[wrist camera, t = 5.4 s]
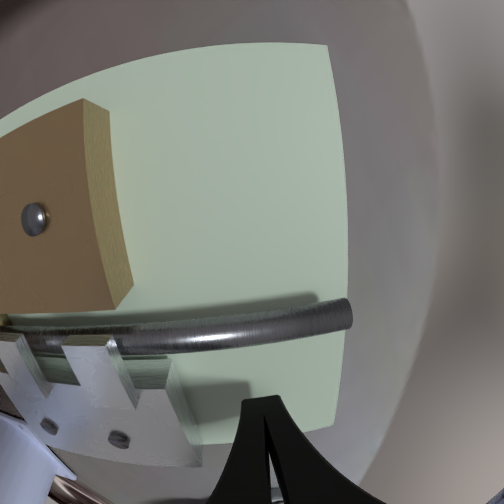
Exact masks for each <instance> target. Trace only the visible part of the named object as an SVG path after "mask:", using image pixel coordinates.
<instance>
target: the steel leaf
mask: <svg viewBox="0 0 504 504" xmlns="http://www.w3.org/2000/svg"><path fill="white" fill-rule="evenodd" d="M61 347H62V349H63V351H64V353H65V356H66V358H67V359H66V358H52V357H41V356H33V354H32V351H31V349H30V347H29V345H28V343H27V341H26V339H25V336H24V334H22V333H6V332H0V359H1V361H0V384H1V386H2V387H3V389H4V391H5V392H6V394H7V395H8V397H9V398H10V400H11V401H12V403H13V404H14V406H15V407H16V408H17V410H18V411H19V413H20V414H21V415H22V417H23V418H24V419H25V421H26V422H27V423H28V425H29V426H30V427H31V428H32V430H33V431H34V432H35V433H36V435H37V436H38V437H39V438H40V439H41V441H42V442H43V443H44V444H45V445H49V446H52V447H55V448H58V449H62V450H65V451H69V452H73V453H77V454H81V455H85V456H90V457H95V458H100V459H105V460H111V461H117V462H124V463H131V464H140V465H150V466H164V467H202V457H203V439H202V437H201V435H200V432H199V430H198V428H197V425H196V423H195V420H194V418H193V415H192V413H191V410H190V408H189V405H188V403H187V400H186V397H185V395H184V392H183V389H182V386H181V383H180V381H179V378H178V375H177V372H176V369H175V366H174V363H173V360H172V359H157V360H122V357H121V355H120V352H119V350H118V347H117V345H116V342H115V340H114V337H113V334H109V335H69V336H68V337H67V339H66V340H65V341H64V342H63V343H62V345H61Z"/></svg>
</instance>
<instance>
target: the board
mask: <svg viewBox="0 0 504 504" xmlns="http://www.w3.org/2000/svg"><path fill="white" fill-rule="evenodd" d="M82 98H84V99H86V100H88V101H90V102H92V103H94V104H96V105H98V106H100V107H102V108H104V109H106V110H108V111H110V132H111V146H112V158H113V168H114V177H115V185H116V193H117V200H118V206H119V213H120V219H121V224H122V230H123V235H124V240H125V245H126V250H127V255H128V259H129V264H130V268H131V273H132V277H133V281H134V286H133V287H132V288H131V290H130V291H129V292H128V294H127V295H126V296H125V298H124V299H123V300H122V302H121V303H120V304H119V306H118V307H117V308H116V310H107V311H90V312H69V313H39V314H4V315H6V316H7V317H8V318H9V319H10V321H11V322H12V324H13V325H14V326H95V325H119V324H137V323H152V322H165V321H177V320H188V319H199V318H208V317H217V316H226V315H234V314H242V313H250V312H258V311H265V310H272V309H279V308H285V307H292V306H298V305H304V304H310V303H316V302H322V301H327V300H333V299H338V298H344V297H345V298H346V299H347V281H348V223H347V198H346V181H345V167H344V155H343V145H342V136H341V127H340V119H339V112H338V105H337V98H336V92H335V86H334V80H333V74H332V69H331V63H330V58H329V54H328V49H327V45H316V44H302V43H243V44H228V45H218V46H209V47H201V48H194V49H187V50H181V51H176V52H170V53H165V54H161V55H156V56H152V57H147V58H143V59H139V60H136V61H132V62H128V63H125V64H121V65H118V66H115V67H112V68H109V69H106V70H103V71H100V72H97V73H94V74H91V75H89V76H86V77H83V78H81V79H78V80H76V81H73V82H71V83H69V84H66V85H64V86H62V87H60V88H57V89H55V90H53V91H51V92H49V93H47V94H45V95H43V96H41V97H39V98H37V99H35V100H33V101H31V102H29V103H27V104H26V105H24V106H22V107H20V108H19V109H17V110H15V111H13V112H12V113H10V114H8V115H7V116H5V117H4V118H2V119H1V120H0V138H1V137H2V136H4V135H6V134H8V133H9V132H11V131H13V130H15V129H16V128H18V127H20V126H22V125H24V124H26V123H28V122H30V121H32V120H34V119H36V118H38V117H40V116H42V115H44V114H46V113H48V112H50V111H53V110H55V109H57V108H59V107H62V106H64V105H67V104H69V103H72V102H74V101H77V100H79V99H82ZM344 337H345V330H342V331H337V332H333V333H328V334H323V335H318V336H313V337H307V338H302V339H296V340H291V341H285V342H278V343H272V344H265V345H258V346H251V347H243V348H235V349H226V350H217V351H206V352H194V353H181V354H164V355H137V356H121V357H122V360H157V359H172V360H173V363H174V366H175V369H176V372H177V375H178V378H179V381H180V383H181V386H182V389H183V392H184V395H185V397H186V400H187V403H188V405H189V408H190V410H191V413H192V415H193V418H194V420H195V423H196V425H197V428H198V430H199V432H200V435H201V437H202V439H203V444H222V443H234V439H235V436H236V432H237V428H238V424H239V419H240V412H241V401H242V400H244V399H250V398H257V397H265V396H271V395H279V396H281V399H282V401H283V403H284V405H285V407H286V409H287V410H288V412H289V414H290V415H291V417H292V419H293V420H294V422H295V423H296V425H297V426H298V427H299V429H300V430H301V431H302V432H307V431H312V430H316V429H320V428H324V427H328V426H332V425H333V424H334V418H335V412H336V406H337V399H338V392H339V385H340V377H341V368H342V359H343V349H344ZM32 354H33V356H41V357H52V358H66V356H65V354H51V353H39V352H32ZM66 359H67V358H66Z"/></svg>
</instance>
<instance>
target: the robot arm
mask: <svg viewBox="0 0 504 504" xmlns="http://www.w3.org/2000/svg"><path fill="white" fill-rule="evenodd" d="M269 454H270V457H271V461H272V464H273V467H274V471H275V474H276V477H277V481H278V484H279V487H280V490H281V494H282V497H283V501H284V504H386V503H384V502H382V501H381V500H379V499H377V498H375V497H373V496H372V495H370V494H369V493H367V492H366V491H364V490H363V489H361V488H360V487H358V486H357V485H355V484H354V483H352V482H351V481H350V480H349V479H347V478H346V477H345V476H344V475H342V474H341V473H340V472H339V471H338V470H336V469H335V468H334V467H333V466H332V465H331V464H330V463H329V462H328V461H327V460H326V459H325V458H324V457H323V456H322V455H321V454H320V453H319V452H318V451H317V450H316V449H315V447H314V446H313V445H312V444H311V443H310V442H309V440H308V439H307V438H306V437H305V435H304V434H303V433H302V431H301V430H300V429H299V427H298V426H297V425H296V423H295V422H294V420H293V419H292V417H291V415H290V414H289V412H288V410H287V409H286V407H285V405H284V403H283V401H282V399H281V396H279V395H271V396H265V397H257V398H250V399H244V400H242V401H241V412H240V419H239V424H238V428H237V432H236V436H235V439H234V443H233V446H232V449H231V452H230V455H229V457H228V460H227V463H226V465H225V468H224V470H223V472H222V475H221V477H220V479H219V481H218V483H217V485H216V487H215V489H214V491H213V492H212V494H211V496H210V498H209V499H208V501H207V503H206V504H272V497H271V482H270V465H269ZM55 474H57V475H60V476H63V477H66V478H69V479H72V480H76V478H77V477H76V475H75V474H73V473H72V472H71V471H70V470H69V469H68V468H67V467H66V466H65V465H64V464H63V463H62V462H61V461H60V460H59V459H58V458H57V457H56V456H55V454H54V453H53V452H52V451H51V450H50V449H49V448H48V447H47V446H46V445H45V444H44V443H43V442H42V441H41V439H40V438H39V437H38V436H37V435H36V433H35V432H34V431H33V430H32V428H31V427H30V426H29V425H28V423H26V422H25V421H23V420H20V419H17V418H14V417H12V416H9V415H6V414H4V413H1V412H0V504H45V502H46V499H47V496H48V493H49V490H50V487H51V485H52V482H53V479H54V477H55ZM486 504H504V488H503V489H502V490H501V491H500V492H499V493H498V494H497V495H495V496H494V497H493V498H492V499H491V500H490V501H488V502H487V503H486Z"/></svg>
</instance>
